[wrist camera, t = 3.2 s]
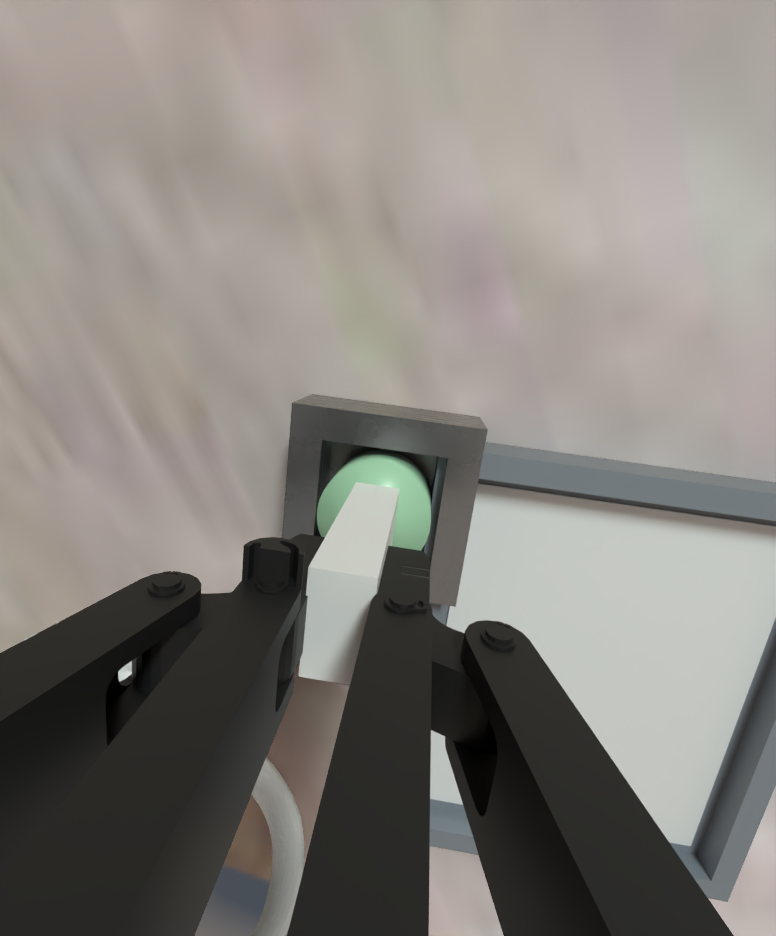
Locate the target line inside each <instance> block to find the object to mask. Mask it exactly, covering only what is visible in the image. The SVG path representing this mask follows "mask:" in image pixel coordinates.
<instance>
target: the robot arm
mask: <svg viewBox="0 0 776 936" xmlns="http://www.w3.org/2000/svg"><path fill="white" fill-rule="evenodd" d="M399 490H400V488H393V487H387V486H380V485H373V484H366V483H359V482H356V484H355V485H354V487H353V489H352V491H351V493H350V494H349V496H348V498H347V500H346V501H345V503H344V505H343V507H342V508H341V510H340V512H339V514H338V516H337V517H336V519H335V521H334V523H333V524H332V526H331V528H330V530H329V531H328V533H327V535H326V537H320V536H313V535H307V534H299V535H297V536H295V537H293V538H291V539H285V538H274V537H270V538H260V539H256V540H253V541H250V542H248V543H247V544H245V545H244V553H243V572H242V581H241V582H240V583H239V585H238V586H237V587H236V588H235V590H234V591H233V592H231V593H218V594H201V583H200V581H199V580H198V578H196V577H194V576H192V575H190V574H186V573H180V572H175V571H173V572H171V571H169V572H162V573H159V574H153V575H150V576H148V577H145V578H142V579H140V580H138V581H136V582H135V583H133V584H131V585H129V586H127V587H125V588H123V589H121V590H119V591H117V592H116V593H114V594H112V595H110V596H108V597H106V598H104V599H102V600H100V601H98V602H97V603H95V604H93V605H91V606H89V607H87V608H85V609H83V610H81V611H79V612H78V613H76V614H74V615H72V616H70V617H68V618H66V619H64V620H62V621H60V622H59V623H57V624H55V625H53V626H51V627H49V628H47V629H45V630H43V631H41V632H40V633H38V634H36V635H34V636H32V637H30V638H28V639H26V640H24V641H22V642H21V643H19V644H17V645H15V646H13V647H11V648H9V649H7V650H5V651H3V652H2V653H0V936H194V935H195V932H196V930H197V927H198V925H199V922H200V920H201V917H202V915H203V912H204V910H205V907H206V905H207V903H208V900H209V897H210V895H211V892H212V890H213V887H214V885H215V883H216V880H217V878H218V875H219V873H220V870H221V868H222V865H223V863H224V860H225V858H226V856H227V853H228V851H229V848H230V846H231V843H232V841H233V838H234V836H235V833H236V831H237V828H238V826H239V823H240V821H241V818H242V816H243V813H244V811H245V808H246V806H247V804H248V801H249V799H250V796H251V794H252V791H253V789H254V786H255V784H256V781H257V779H258V776H259V774H260V771H261V769H262V766H263V764H264V761H265V759H266V756H267V754H268V751H269V749H270V747H271V744H272V742H273V739H274V737H275V734H276V732H277V729H278V727H279V724H280V722H281V719H282V717H283V714H284V712H285V709H286V707H287V704H288V702H289V699H290V697H291V694H292V692H293V683H294V672H295V669H296V667H297V665H298V662H299V660H300V666H299V677H304V678H310V679H316V680H322V681H328V682H334V683H339V684H345V685H350V687H349V691H348V695H347V699H346V703H345V707H344V711H343V715H342V719H341V723H340V727H339V731H338V735H337V739H336V743H335V747H334V751H333V755H332V759H331V763H330V767H329V771H328V775H327V779H326V783H325V787H324V790H323V794H322V798H321V802H320V806H319V810H318V814H317V818H316V822H315V826H314V830H313V834H312V838H311V842H310V846H309V850H308V854H307V858H306V862H305V866H304V870H303V874H302V878H301V882H300V886H299V890H298V894H297V898H296V902H295V906H294V910H293V914H292V918H291V922H290V926H289V930H288V934H287V936H428V925H429V845H430V765H431V730H432V731H434V732H436V733H439V734H441V735H443V736H445V747H446V751H447V755H448V758H449V761H450V764H451V767H452V771H453V774H454V777H455V780H456V784H457V787H458V790H459V793H460V796H461V800H462V803H463V806H464V809H465V812H466V816H467V819H468V822H469V825H470V828H471V832H472V835H473V838H474V841H475V845H476V848H477V851H478V854H479V857H480V861H481V864H482V867H483V870H484V873H485V877H486V880H487V883H488V886H489V890H490V893H491V896H492V899H493V902H494V906H495V909H496V912H497V915H498V918H499V922H500V925H501V928H502V931H503V935H504V936H733V934H732V933H731V931H730V930H729V928H728V927H727V925H726V924H725V923H724V921H723V920H722V918H721V917H720V915H719V914H718V912H717V911H716V910H715V908H714V907H713V905H712V904H711V902H710V901H709V899H708V898H707V896H706V895H705V894H704V892H703V891H702V889H701V888H700V886H699V885H698V883H697V882H696V881H695V879H694V878H693V876H692V875H691V873H690V872H689V870H688V869H687V867H686V866H685V865H684V863H683V862H682V860H681V859H680V857H679V856H678V854H677V853H676V852H675V850H674V849H673V847H672V846H671V844H670V843H669V841H668V840H667V838H666V837H665V836H664V834H663V833H662V831H661V830H660V828H659V827H658V825H657V824H656V823H655V821H654V820H653V818H652V817H651V815H650V814H649V812H648V811H647V809H646V808H645V807H644V805H643V804H642V802H641V801H640V799H639V798H638V796H637V795H636V794H635V792H634V791H633V789H632V788H631V786H630V785H629V783H628V782H627V780H626V779H625V778H624V776H623V775H622V773H621V772H620V770H619V769H618V767H617V766H616V765H615V763H614V762H613V760H612V759H611V757H610V756H609V754H608V753H607V751H606V750H605V749H604V747H603V746H602V744H601V743H600V741H599V740H598V738H597V737H596V736H595V734H594V733H593V731H592V730H591V728H590V727H589V725H588V724H587V722H586V721H585V720H584V718H583V717H582V715H581V714H580V712H579V711H578V709H577V708H576V707H575V705H574V704H573V702H572V701H571V699H570V698H569V696H568V695H567V693H566V692H565V691H564V689H563V688H562V686H561V685H560V683H559V682H558V680H557V679H556V678H555V676H554V675H553V673H552V672H551V670H550V669H549V667H548V666H547V664H546V663H545V662H544V660H543V659H542V657H541V656H540V654H539V653H538V651H537V650H536V649H535V647H534V646H533V644H532V643H531V641H530V640H529V639H528V638H527V637H526V636H525V635H524V634H523V633H522V632H521V631H519V630H517V629H516V628H514V627H512V626H511V625H508V624H506V623H505V624H504V623H503V622H499V621H489V620H484V621H476V622H474V623H472V624H470V625H468V627H467V629H466V630H465V633H462V632H460V631H457V630H454V629H452V628H450V627H448V626H446V625H444V624H442V623H441V622H439V621H438V620H437V619H436V618H435V617H434V616H433V614H432V608H431V605H430V603H429V596H430V559H429V558H428V557H427V555H426V554H425V553H424V552H423V551H420V550H413V549H407V548H400V547H394V546H392V541H393V534H394V527H395V519H396V512H397V505H398V497H399ZM131 661H132V674H131V675H130V676H128V677H127V678H126V679H124V680H122V681H120V682H119V679H118V671H119V670H120V669H121V668H122V667H124V666H125V665H127V664H128V663H129V662H131Z"/></svg>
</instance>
